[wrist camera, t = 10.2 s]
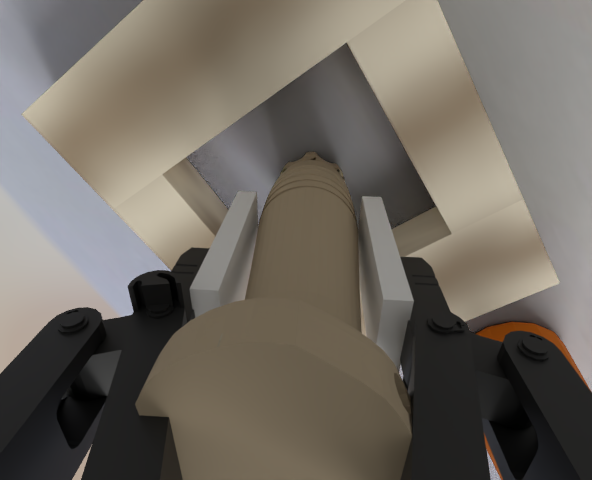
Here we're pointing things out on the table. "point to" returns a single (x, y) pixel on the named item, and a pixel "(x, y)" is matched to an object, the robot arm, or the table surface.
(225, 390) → the handle
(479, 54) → the table surface
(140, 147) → the board
